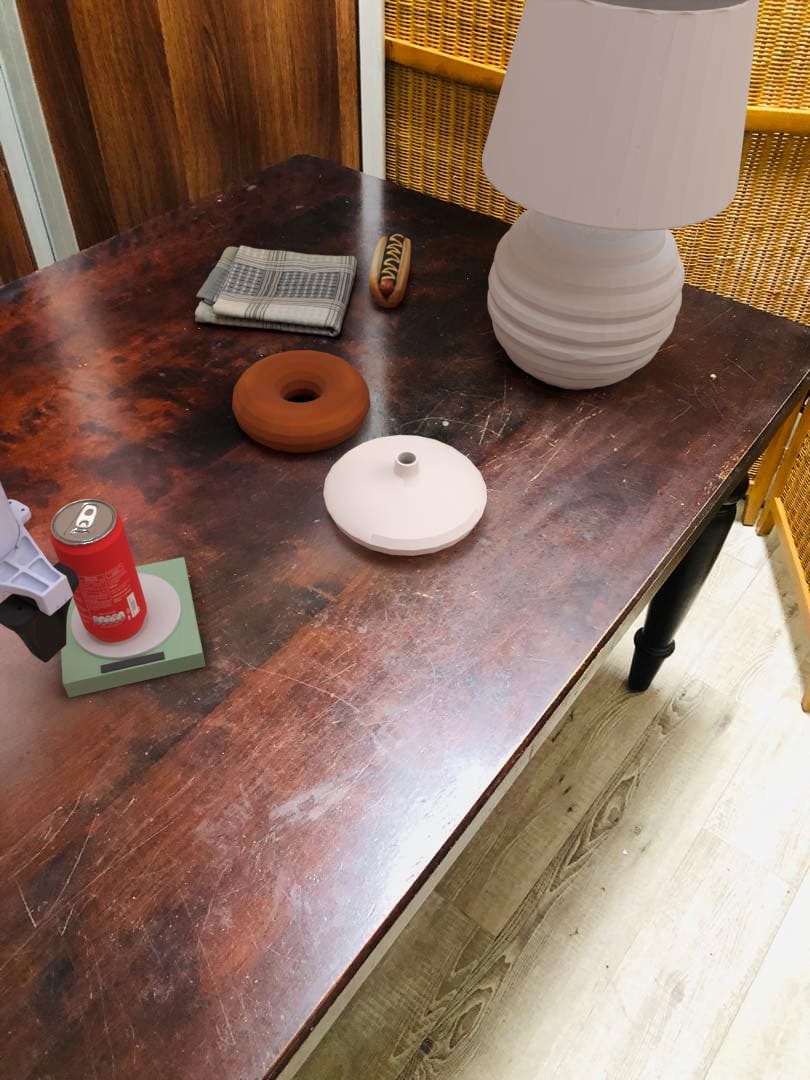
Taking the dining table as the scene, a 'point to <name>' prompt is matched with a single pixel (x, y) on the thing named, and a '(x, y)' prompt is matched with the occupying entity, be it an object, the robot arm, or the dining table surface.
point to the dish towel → (278, 291)
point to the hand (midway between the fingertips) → (14, 627)
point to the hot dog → (390, 270)
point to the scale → (138, 637)
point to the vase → (405, 495)
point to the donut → (306, 423)
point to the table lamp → (610, 173)
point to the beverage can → (100, 569)
